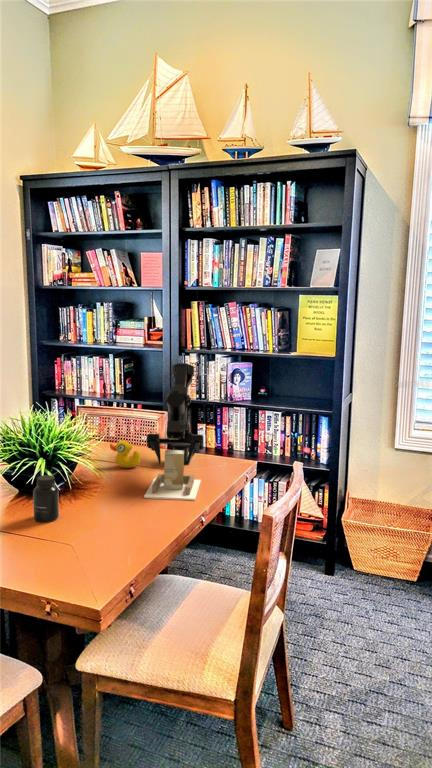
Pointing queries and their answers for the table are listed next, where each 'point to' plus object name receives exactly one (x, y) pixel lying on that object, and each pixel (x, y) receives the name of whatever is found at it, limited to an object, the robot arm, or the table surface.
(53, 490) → the supplement bottle
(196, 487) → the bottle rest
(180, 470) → the skincare box
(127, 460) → the duckling
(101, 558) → the table surface
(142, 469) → the table surface
